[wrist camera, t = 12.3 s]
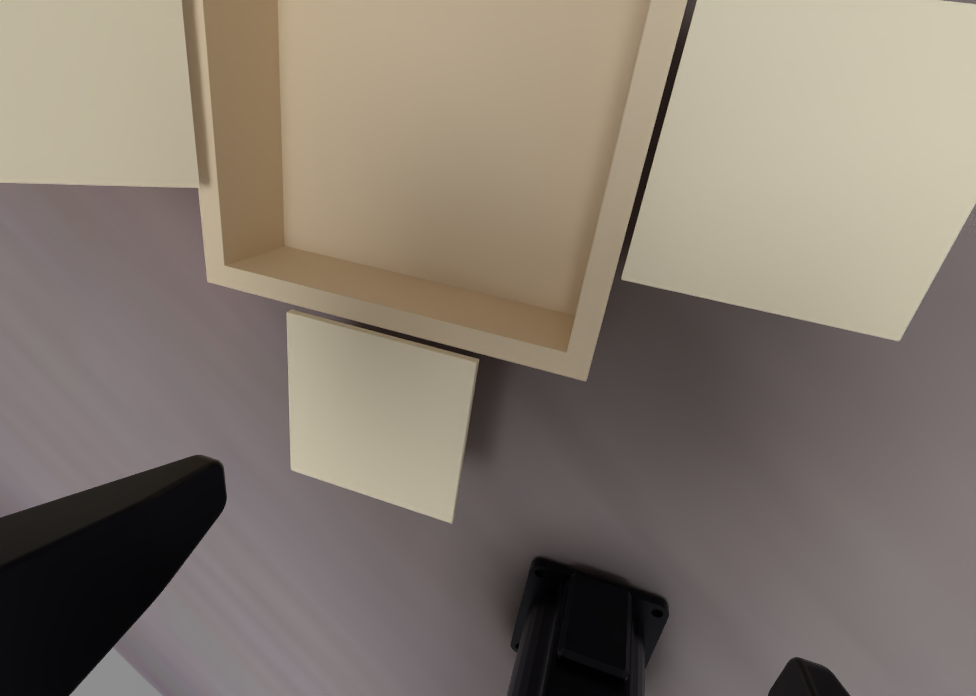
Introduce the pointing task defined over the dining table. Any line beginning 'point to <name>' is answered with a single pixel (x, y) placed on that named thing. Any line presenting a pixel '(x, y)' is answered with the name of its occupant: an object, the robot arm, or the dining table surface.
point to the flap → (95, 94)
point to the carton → (559, 187)
